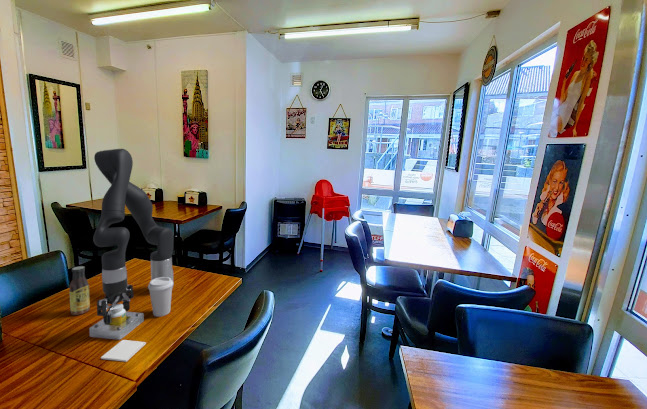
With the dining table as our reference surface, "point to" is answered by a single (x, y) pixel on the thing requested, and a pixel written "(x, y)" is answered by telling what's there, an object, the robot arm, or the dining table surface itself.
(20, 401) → the dining table surface
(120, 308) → the supplement bottle
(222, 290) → the dining table surface
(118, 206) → the robot arm
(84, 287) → the sauce bottle
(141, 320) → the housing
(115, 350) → the mat
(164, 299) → the coffee cup
